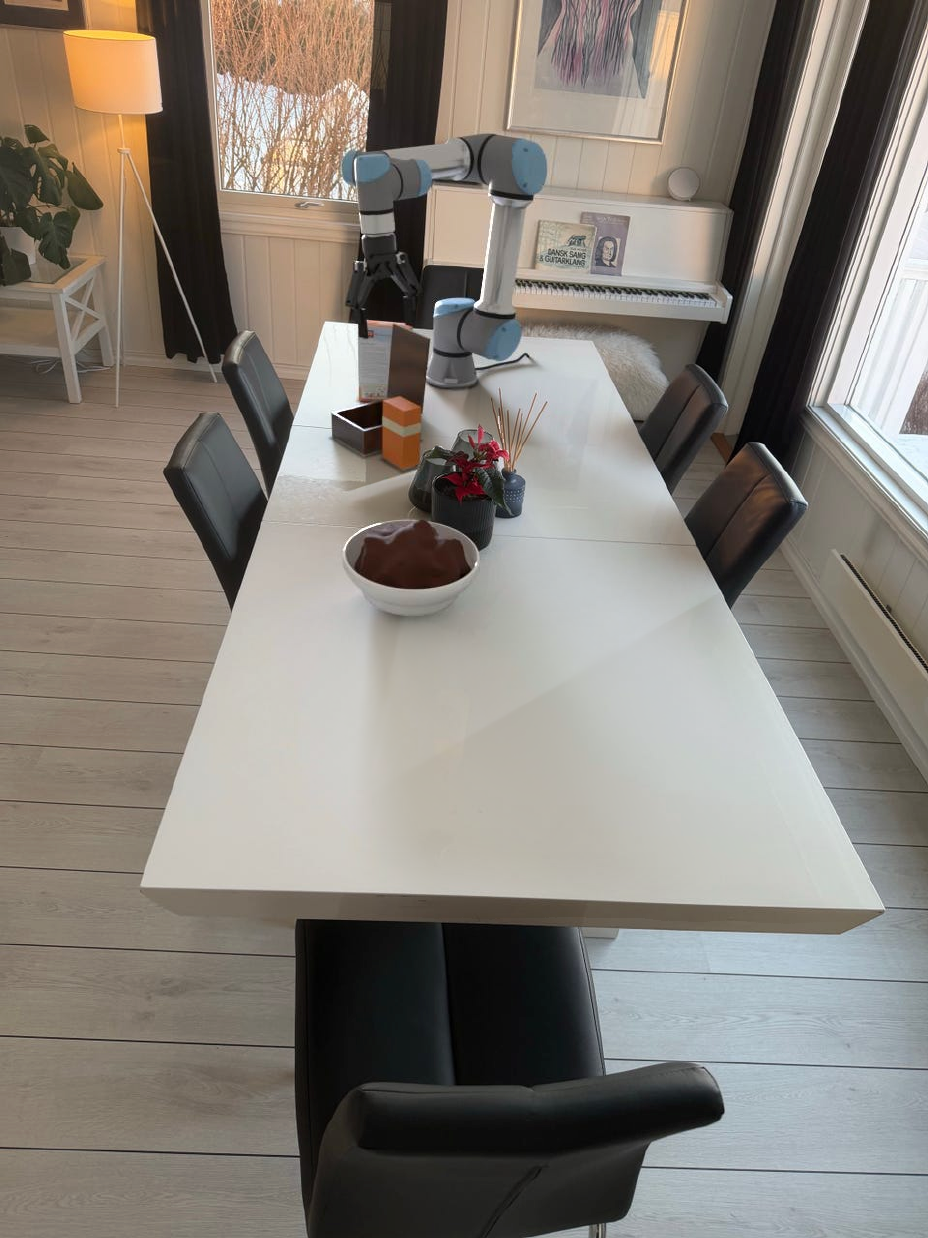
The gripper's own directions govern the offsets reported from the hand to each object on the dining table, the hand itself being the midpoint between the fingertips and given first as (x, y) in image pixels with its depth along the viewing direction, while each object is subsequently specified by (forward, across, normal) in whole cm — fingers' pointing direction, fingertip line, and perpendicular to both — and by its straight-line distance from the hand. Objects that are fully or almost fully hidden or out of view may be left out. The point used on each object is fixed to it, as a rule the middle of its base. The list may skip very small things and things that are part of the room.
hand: (387, 331), depth 200 cm
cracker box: (+26, -14, -23) cm, 37 cm away
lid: (+11, -6, -2) cm, 12 cm away
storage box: (+26, +4, -3) cm, 27 cm away
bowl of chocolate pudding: (+31, +41, +57) cm, 76 cm away
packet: (+28, +7, +11) cm, 31 cm away
